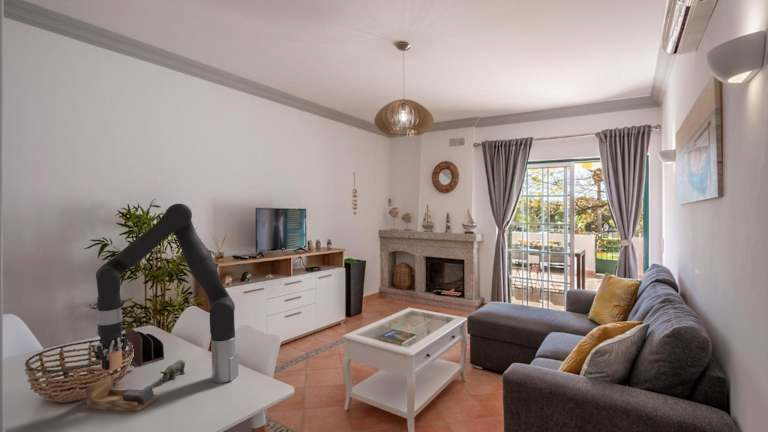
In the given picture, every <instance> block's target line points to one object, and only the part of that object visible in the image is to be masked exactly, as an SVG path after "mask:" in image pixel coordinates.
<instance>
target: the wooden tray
mask: <svg viewBox="0 0 768 432" xmlns="http://www.w3.org/2000/svg"><path fill="white" fill-rule="evenodd" d="M108 376H109V375H108ZM105 377H106V376H105ZM112 378H113V377H112V376H109V377H106V378H104V377H103V379H102V378H100V379H99V380H97V381H95V382H93V383H92V384H90V385H88V386H86V388H85V391H86V394H85V395H86V408H87V409H93V410H107V411H109V410H110V411H121V412H136V413H137V412H138V413H139V412H141V411H142V410H143V409H145V407H147V406H148V405H149V404H151V403H152V402H153V401H154V402H155V400H156V399H157V395H154V390H152V395H153V398H152V399H151V400H149V401H148V402H147V403H145V404H140V403H138V402H131V401H123V394H124V393H126V392H127V391H129V390H130V389H131V388H120V387H119V388H116V387H115V388H114V387H113V381H112ZM133 389H134V388H133ZM134 390H136V389H134Z"/></svg>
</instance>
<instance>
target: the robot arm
mask: <svg viewBox="0 0 768 432" xmlns="http://www.w3.org/2000/svg"><path fill="white" fill-rule="evenodd" d="M192 218H193V212H192V209H191V208H190V207H189V206H188V205H186V204H183V203H174V204H172V205H170V206H168V207H167V209H166V210H165V213H164V214H163V215H162V216H161V217H160V218H159V220H158V221H157V222H156V223H155V224H153V226H152V227H150V228H149V229H147V230H146V231H145V232H144V233H143V234H141V235H139V237H137V238H136V239H134V240H133V241H132V242H131V243H130V244H128V245H127V246H126V247H125V248H123V249H122V250H121V251H119V253H118V254H117V255H115V256H114V257H112V258H111V259H109V260H108V261H106V262H105V263H104V264H103V265H102V266H100V267H99V268H98V269H97V271H96V272H95V278H96V279H95V280H96V286H97V300H96V302H97V303H96V305H97V306H96V307H97V314H96V323H97V326H96V327H97V335H98V337H99V343H98V344H96V345H93V346H92V349H91V350H92V351H93V355H94V358H95V360H96V361H100V362H101V361H102V369H103V370H109V369H110V363H109V356H110V353H111V352H112V351H122V352H123V351H125V349H126V343H127V337H128V334H127V333H125V332H123V330H124V327H123V326H124V325H123V323H124V322H123V310H122V299H121V276H122V275H123V274H124V273H126V271H128V270H130V269H132V268H134V267H135V266H137V265H138V264H139V263H140V262H141V261H142V260H144V259H145V258H146V257H147V256H148V255H150V253H151V252H152V251H153V250H154V249H156V247H158V246H159V245H160V244H161V243H162V242H163V241H164V240H165V239H167V238H168V237H169V236H170V235H172V234H173V235H174V236H175V238H176V239H177V241H178V244H179V246H180V250H181V253H182V255H183V258H184V260H185V262H186V265H187V267H188V269H189V271H190V274H191V275H192V277H193V278H194V280H195V281H196V282H197V283H198V285H200V287H201V288H202V289H203V291H204V292H205V294H206V296H207V299H208V301H209V304H210V310H209V332H210V342H211V343H210V344H211V345H210V346H211V374H212V375H211V377H212V382H214V383H218V384H222V383H227V382H233V381H234V380H235V379H236V378H237V377H238V376H239V354H238V352H237V350H236V329H235V328H236V327H235V309H236V305H235V301H233V299H232V297H231V295H230V294H229V292H228V291H227V290H226V288H225V286H224V284H223V281H222V280H221V276H220V274H219V271H218V268H217V265H216V264H215V261H214V258H213V257H212V255H211V253H210V251H209V250H208V248H207V247H206V245H205V244H204V242H203V241H202V239H201V238H200V237H199V235H198V234H197V232H196V229H195V227H194V224H193V221H192ZM105 353H106V357H105Z"/></svg>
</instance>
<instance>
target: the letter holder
mask: <svg viewBox="0 0 768 432" xmlns="http://www.w3.org/2000/svg"><path fill="white" fill-rule="evenodd" d="M124 331H125V332H124V333H127V334H128V337H127V340H128V341H130V342H131V343H132V345H133V349H134V357H133V360H132V361H133V362H135V363H138V364H137V365H139V366H141V367H143V366H146V365H149V363H150V364H153V363H155V362H156V363H157V362H159V361H162V360H165V352H164V350H165V349H164V344H163V341H161V340H160V339H159V337H157V336H155V335H153V334H151V333H145V332H142V331H138V330H137V331H136V330H135V329H132V328H129V327H125V329H124ZM142 365H143V366H142Z"/></svg>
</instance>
